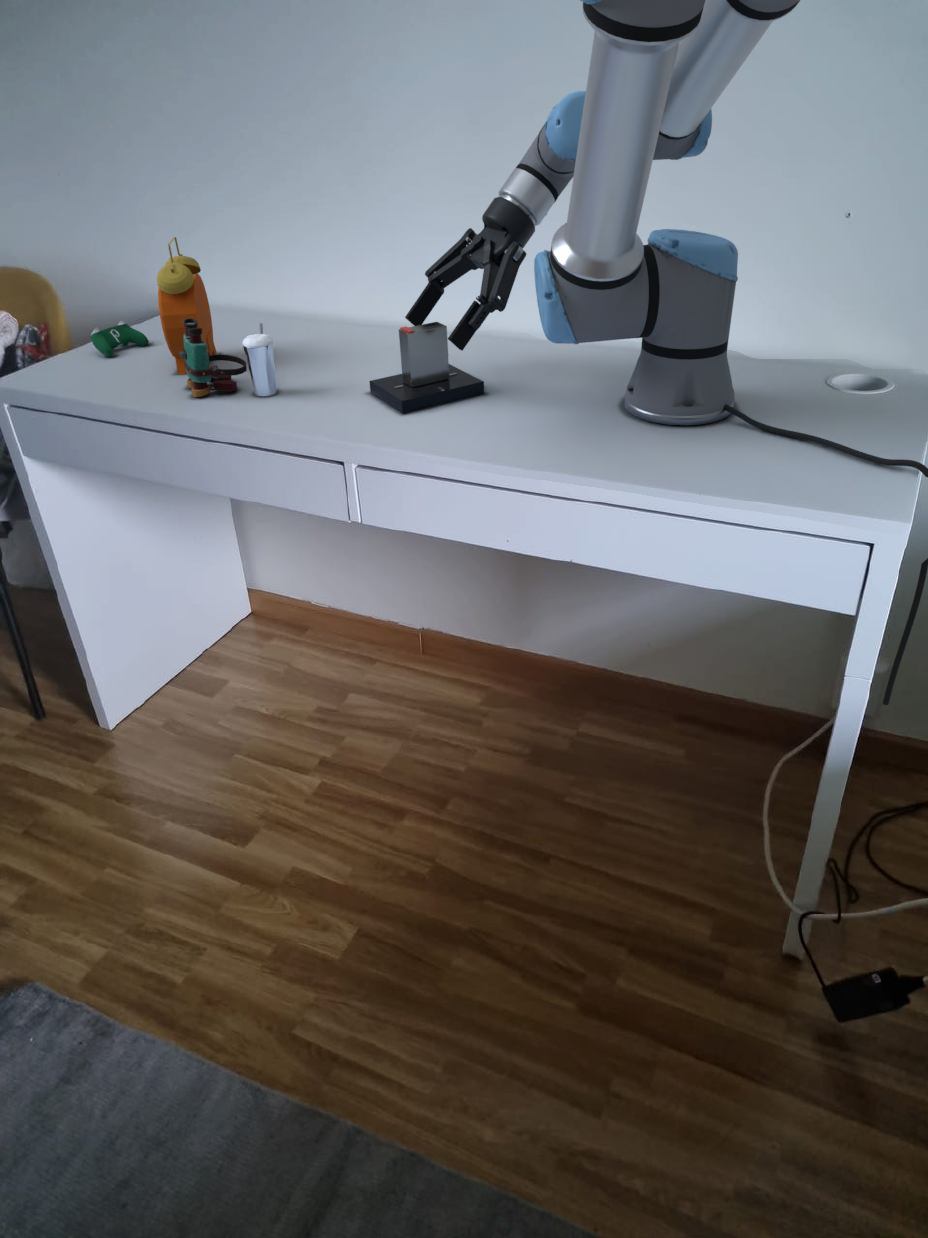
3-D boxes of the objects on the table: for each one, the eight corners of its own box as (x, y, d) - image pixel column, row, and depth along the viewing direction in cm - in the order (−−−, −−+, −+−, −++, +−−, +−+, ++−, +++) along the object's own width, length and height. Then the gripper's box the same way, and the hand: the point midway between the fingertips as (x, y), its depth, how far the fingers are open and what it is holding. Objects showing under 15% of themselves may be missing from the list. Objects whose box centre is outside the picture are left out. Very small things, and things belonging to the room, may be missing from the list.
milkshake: (285, 386, 142) (275, 322, 137) (276, 398, 138) (265, 332, 132) (257, 386, 143) (246, 322, 137) (247, 398, 138) (236, 333, 133)
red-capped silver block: (439, 373, 138) (436, 319, 133) (449, 378, 136) (446, 324, 131) (402, 382, 135) (398, 327, 131) (411, 387, 133) (407, 332, 129)
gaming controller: (145, 352, 166) (125, 327, 166) (151, 340, 164) (131, 313, 163) (103, 366, 160) (83, 340, 160) (108, 353, 157) (87, 326, 157)
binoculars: (247, 328, 136) (180, 330, 132) (252, 396, 141) (187, 400, 138) (236, 314, 143) (171, 316, 139) (241, 379, 148) (179, 383, 144)
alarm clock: (184, 353, 159) (158, 233, 148) (219, 350, 159) (196, 231, 148) (172, 377, 148) (143, 250, 137) (209, 374, 148) (184, 247, 137)
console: (448, 375, 144) (448, 361, 142) (484, 394, 135) (484, 380, 134) (370, 393, 138) (369, 379, 137) (402, 414, 130) (401, 399, 129)
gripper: (581, 242, 124) (491, 369, 126) (488, 216, 142) (411, 328, 144) (550, 205, 119) (457, 339, 121) (458, 184, 137) (379, 300, 139)
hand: (432, 333), depth 133 cm, fingers open, 13 cm apart
